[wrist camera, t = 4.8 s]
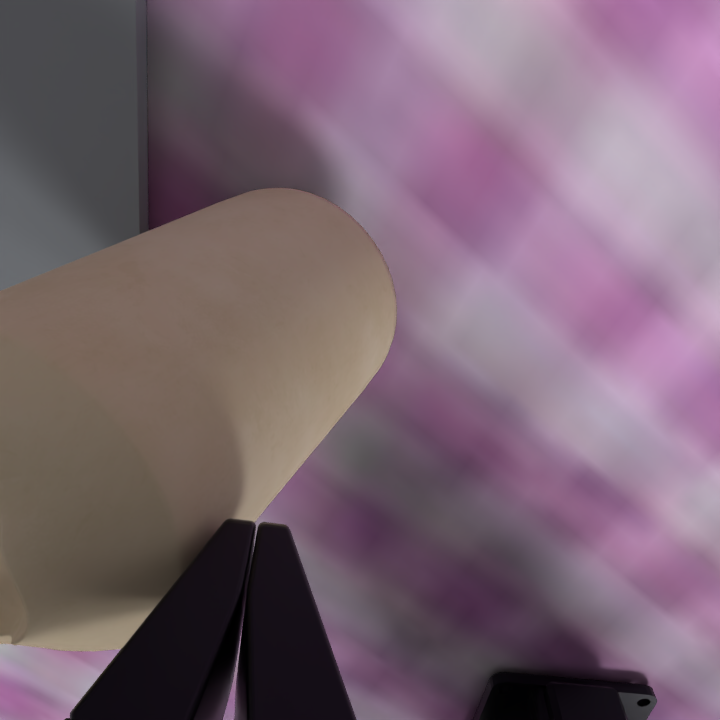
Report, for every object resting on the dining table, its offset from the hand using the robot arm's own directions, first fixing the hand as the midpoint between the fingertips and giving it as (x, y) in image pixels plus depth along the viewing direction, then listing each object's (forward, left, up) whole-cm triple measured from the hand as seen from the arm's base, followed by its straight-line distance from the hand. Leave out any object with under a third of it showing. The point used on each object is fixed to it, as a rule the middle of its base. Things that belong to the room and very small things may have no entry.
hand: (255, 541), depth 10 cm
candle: (0, 0, -8) cm, 8 cm away
